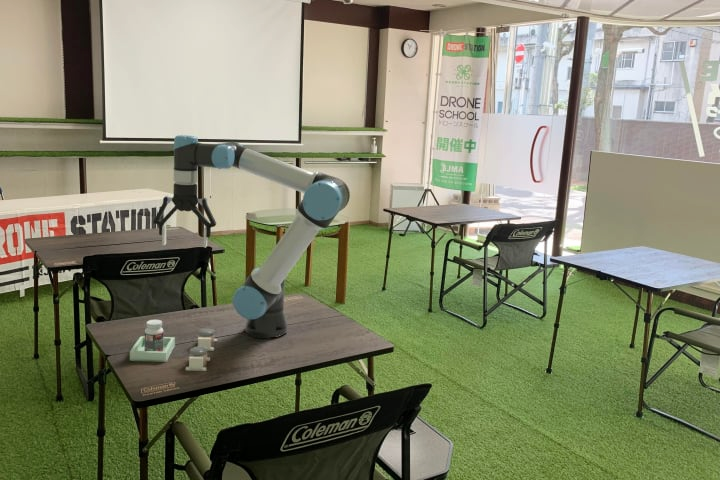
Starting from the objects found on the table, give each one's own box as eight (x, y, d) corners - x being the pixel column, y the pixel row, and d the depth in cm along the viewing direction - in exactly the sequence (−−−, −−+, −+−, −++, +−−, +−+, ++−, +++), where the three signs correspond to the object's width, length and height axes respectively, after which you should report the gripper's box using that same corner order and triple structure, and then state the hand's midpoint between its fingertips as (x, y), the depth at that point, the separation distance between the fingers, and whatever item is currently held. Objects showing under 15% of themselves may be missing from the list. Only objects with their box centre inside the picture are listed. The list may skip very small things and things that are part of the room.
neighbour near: (207, 361, 197) (208, 347, 196) (205, 368, 192) (205, 353, 191) (191, 361, 197) (191, 346, 196) (188, 368, 192) (188, 353, 191)
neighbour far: (215, 342, 213) (215, 328, 212) (213, 348, 208) (213, 334, 207) (199, 342, 212) (199, 328, 211) (197, 348, 207) (197, 333, 206)
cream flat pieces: (217, 340, 214) (217, 329, 213) (205, 370, 191) (206, 358, 190) (199, 340, 214) (199, 329, 213) (185, 370, 190) (185, 358, 189)
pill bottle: (157, 356, 197) (157, 326, 195) (141, 353, 198) (141, 323, 196) (166, 349, 203) (166, 320, 201) (150, 346, 204) (150, 317, 202)
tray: (174, 345, 208) (174, 337, 207) (166, 361, 195) (166, 352, 194) (140, 344, 207) (140, 336, 206) (129, 360, 194) (129, 351, 193)
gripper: (225, 183, 211) (223, 244, 216) (149, 179, 209) (149, 241, 214) (222, 186, 204) (220, 250, 209) (143, 182, 202) (144, 246, 206)
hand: (184, 245), depth 211 cm, fingers open, 13 cm apart
